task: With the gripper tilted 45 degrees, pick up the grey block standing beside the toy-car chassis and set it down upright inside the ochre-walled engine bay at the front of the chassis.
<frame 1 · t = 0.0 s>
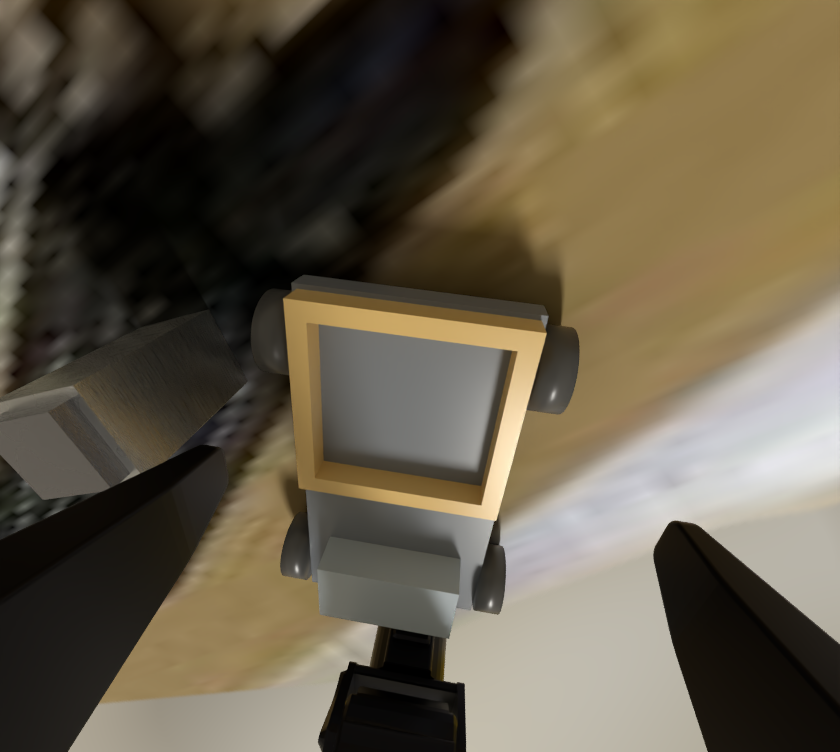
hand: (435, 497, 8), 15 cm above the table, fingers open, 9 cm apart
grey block: (195, 354, 25), on the table
chassis: (408, 450, 26), on the table
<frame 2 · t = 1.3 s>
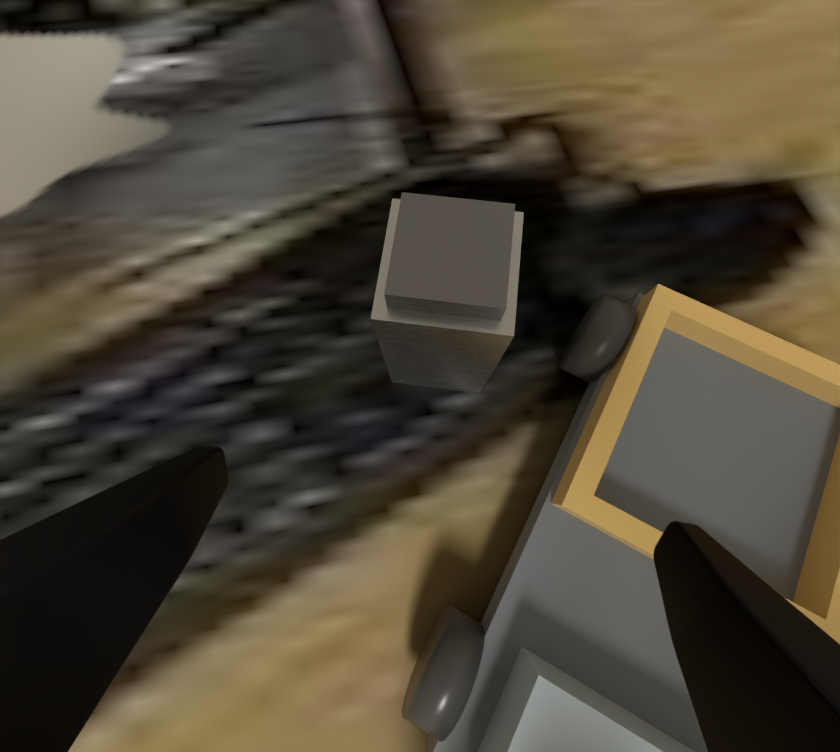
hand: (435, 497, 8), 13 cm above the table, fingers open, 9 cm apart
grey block: (440, 346, 23), on the table
chassis: (639, 553, 20), on the table
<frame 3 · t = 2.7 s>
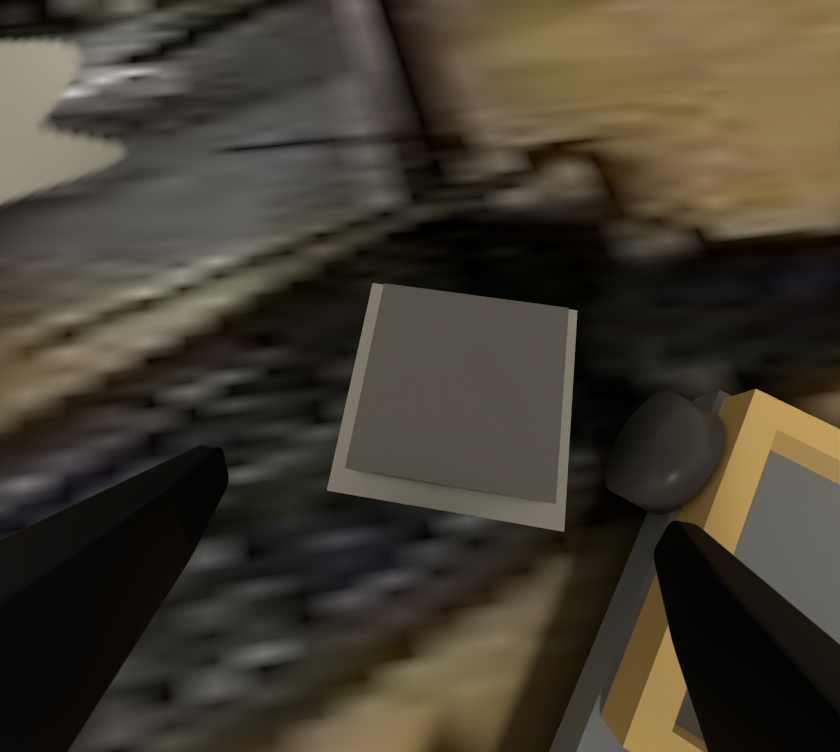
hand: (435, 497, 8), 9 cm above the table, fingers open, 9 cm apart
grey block: (445, 442, 18), on the table
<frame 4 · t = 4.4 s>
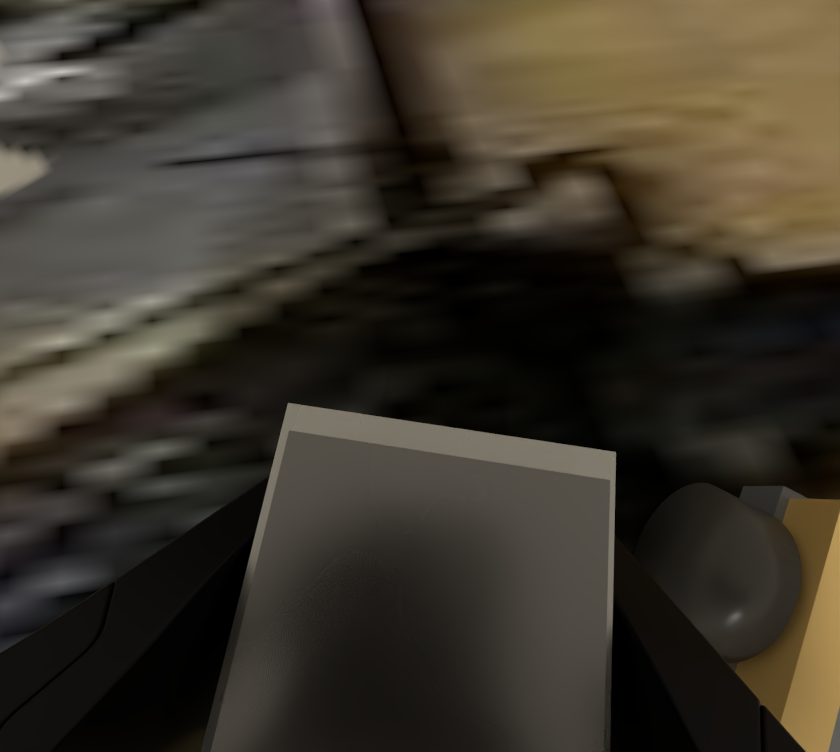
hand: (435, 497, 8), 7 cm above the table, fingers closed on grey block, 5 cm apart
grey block: (427, 534, 14), on the table, touching gripper
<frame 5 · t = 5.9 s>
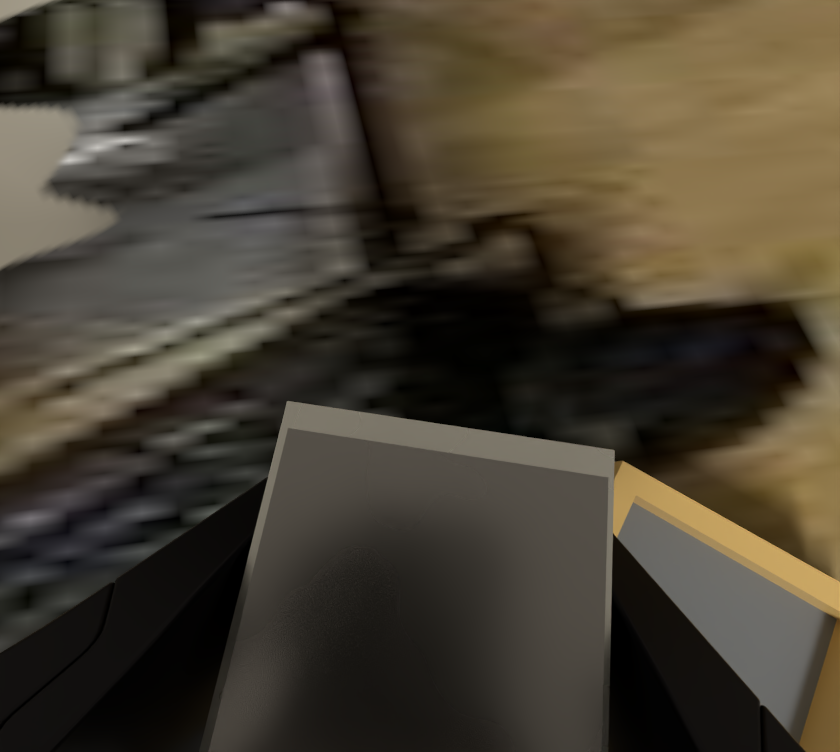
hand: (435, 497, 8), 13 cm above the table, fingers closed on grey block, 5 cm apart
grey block: (427, 533, 14), point 7 cm above the table, touching gripper
when the fingers open (11 cm above the table, at t = 7.6 s): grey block drops 1 cm, resting on chassis.
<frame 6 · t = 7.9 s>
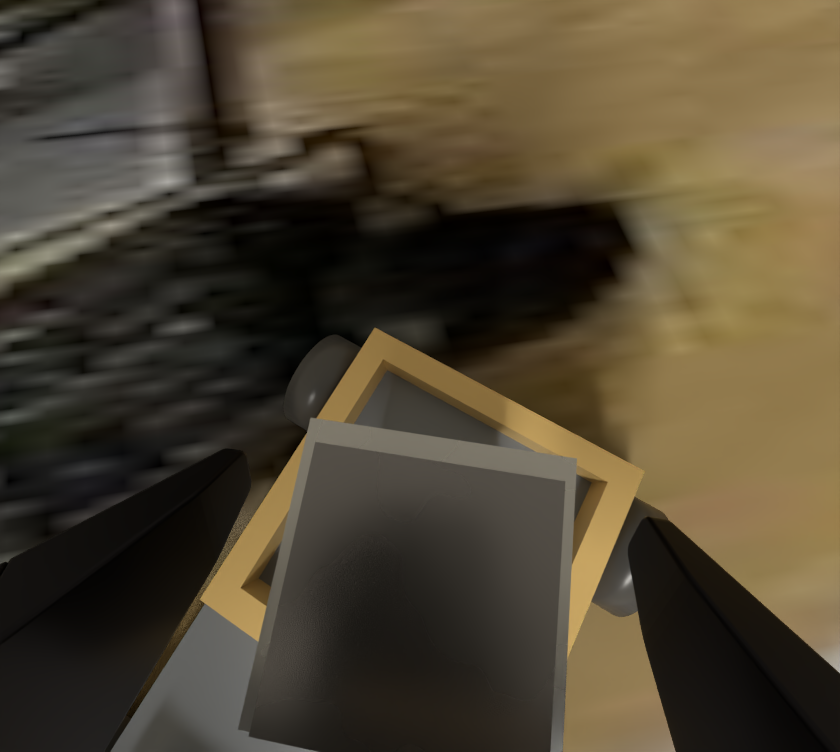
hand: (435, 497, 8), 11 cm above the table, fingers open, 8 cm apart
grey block: (426, 529, 15), point 3 cm above the table, touching chassis
chassis: (366, 640, 17), on the table
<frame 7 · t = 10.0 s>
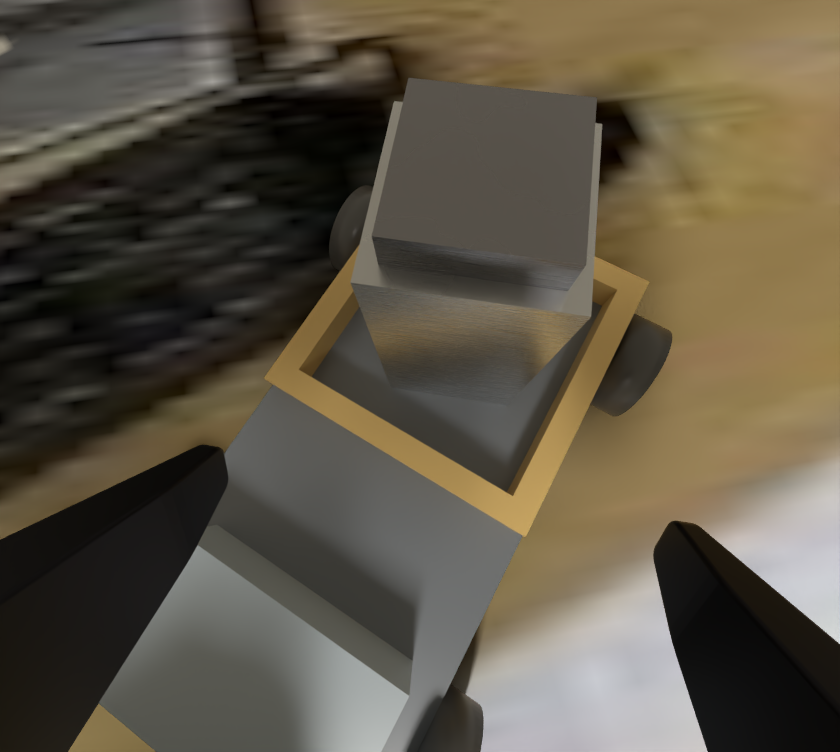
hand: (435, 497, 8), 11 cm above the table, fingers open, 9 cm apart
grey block: (456, 342, 17), point 3 cm above the table, touching chassis
chassis: (398, 456, 19), on the table
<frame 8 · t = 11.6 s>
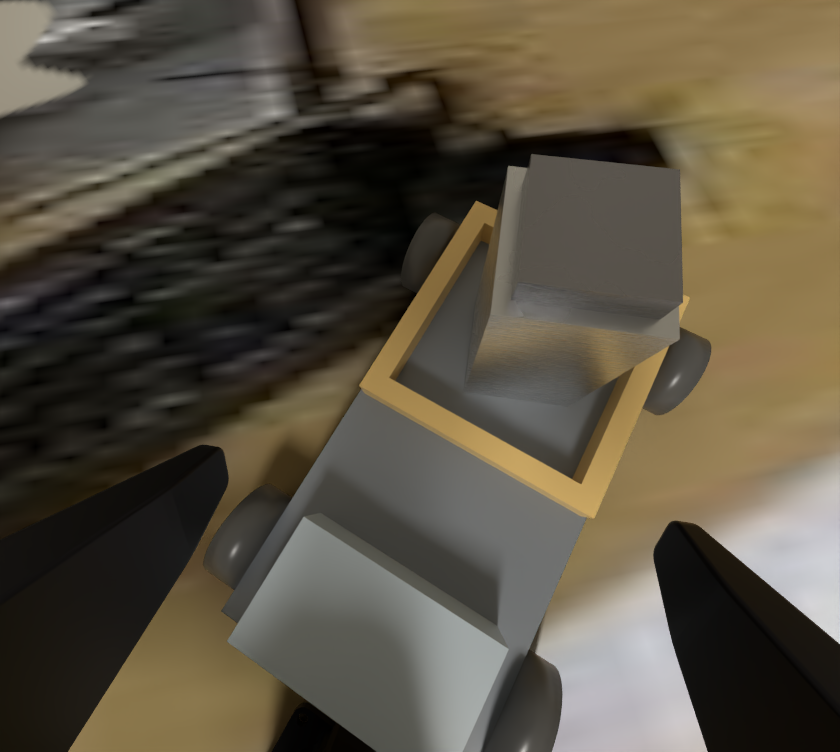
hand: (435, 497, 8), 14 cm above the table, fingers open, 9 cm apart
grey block: (519, 351, 20), point 3 cm above the table, touching chassis
chassis: (464, 452, 22), on the table
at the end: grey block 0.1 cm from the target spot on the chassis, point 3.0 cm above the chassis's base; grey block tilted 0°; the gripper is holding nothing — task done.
